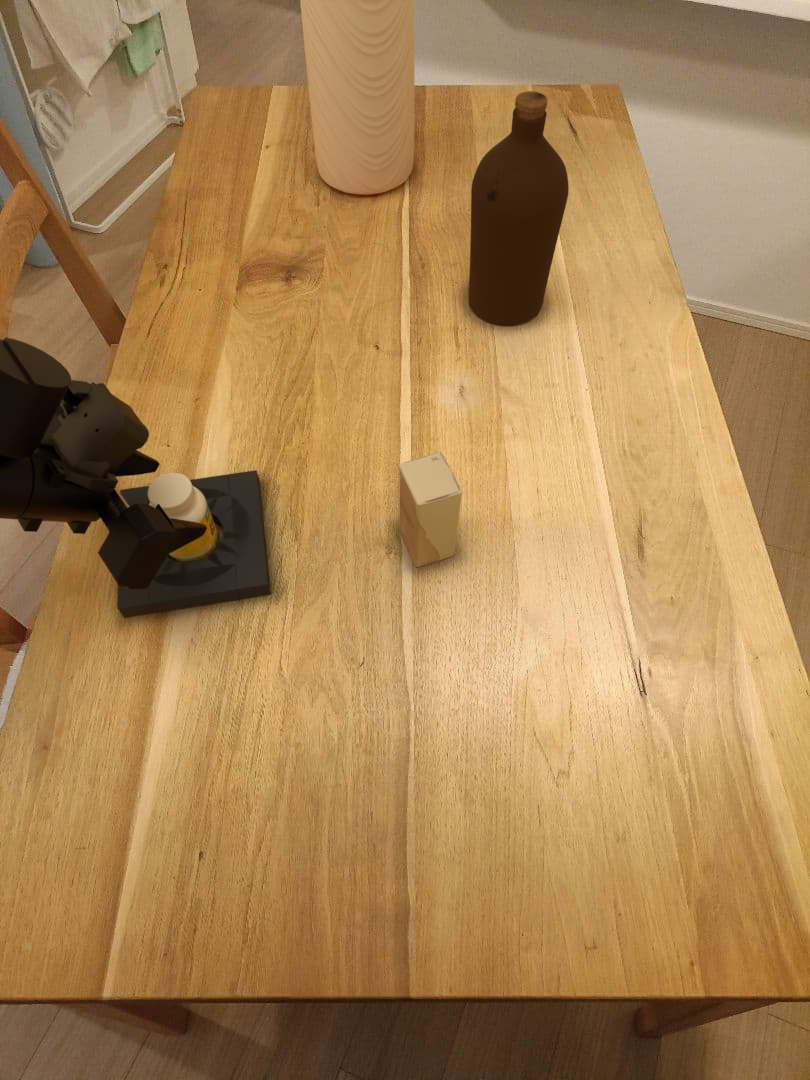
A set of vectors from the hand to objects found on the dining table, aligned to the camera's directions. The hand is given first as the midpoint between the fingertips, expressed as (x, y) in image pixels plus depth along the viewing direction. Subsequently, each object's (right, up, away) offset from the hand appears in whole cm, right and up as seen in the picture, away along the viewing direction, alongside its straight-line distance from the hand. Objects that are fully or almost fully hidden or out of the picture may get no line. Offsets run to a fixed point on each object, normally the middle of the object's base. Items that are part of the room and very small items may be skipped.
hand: (180, 497), depth 71 cm
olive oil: (+34, +26, +27) cm, 50 cm away
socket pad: (0, -5, +6) cm, 8 cm away
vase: (+15, +51, +43) cm, 68 cm away
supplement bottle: (0, -5, +7) cm, 8 cm away
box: (+23, -4, +7) cm, 24 cm away
